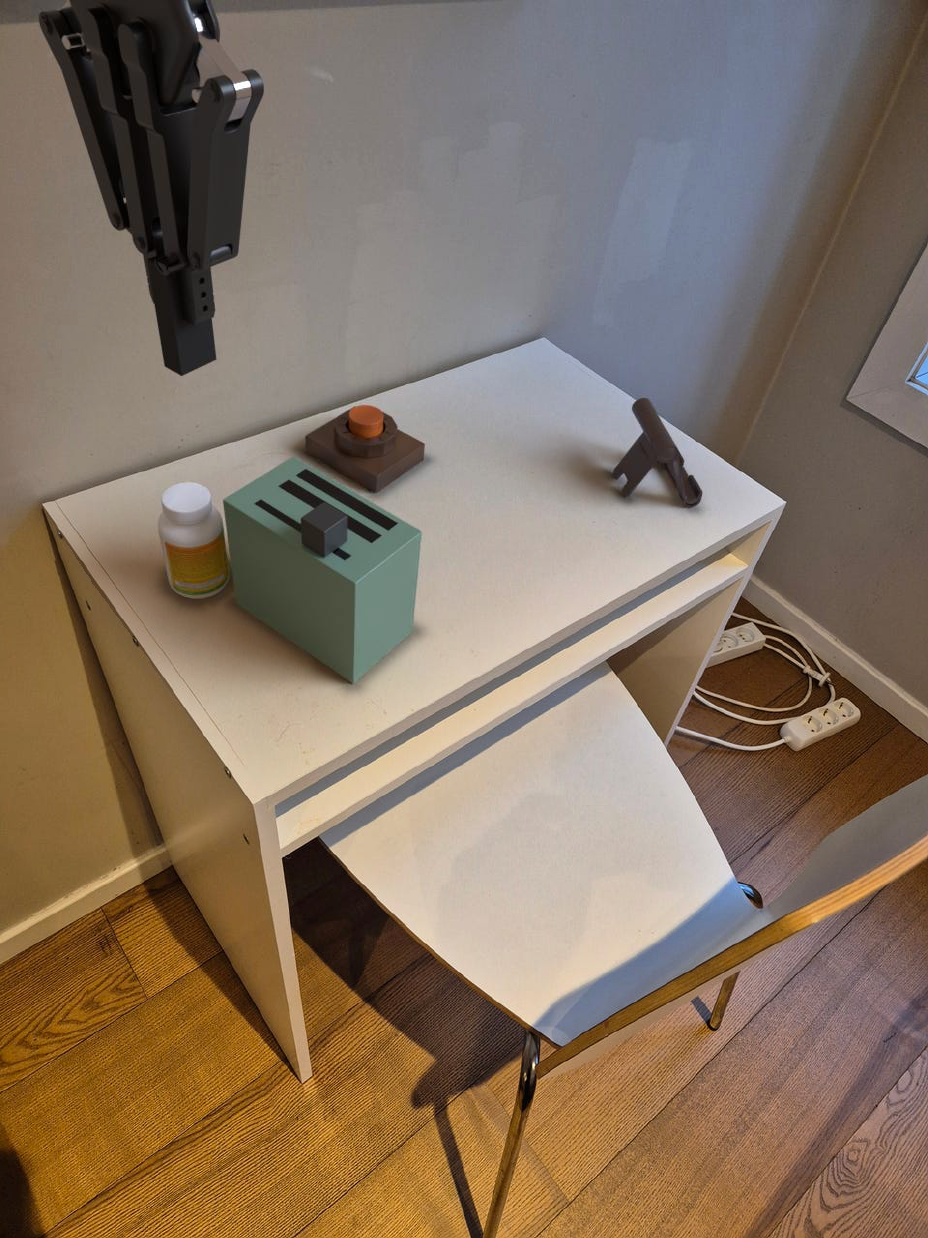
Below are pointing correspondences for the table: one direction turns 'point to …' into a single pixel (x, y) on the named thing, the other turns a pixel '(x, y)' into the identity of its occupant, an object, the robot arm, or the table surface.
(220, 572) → the supplement bottle
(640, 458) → the tablet stand
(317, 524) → the slider
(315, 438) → the button block
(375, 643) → the toaster
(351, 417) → the button
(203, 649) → the table surface
